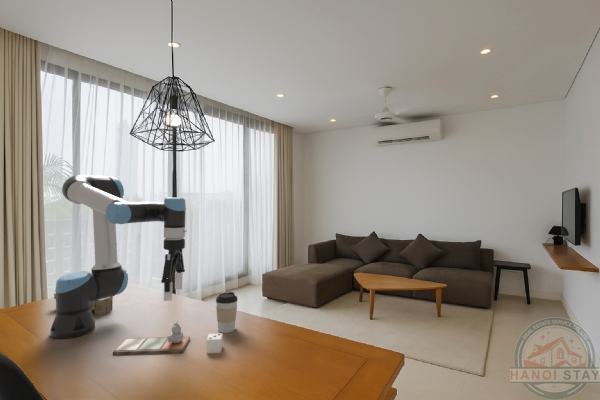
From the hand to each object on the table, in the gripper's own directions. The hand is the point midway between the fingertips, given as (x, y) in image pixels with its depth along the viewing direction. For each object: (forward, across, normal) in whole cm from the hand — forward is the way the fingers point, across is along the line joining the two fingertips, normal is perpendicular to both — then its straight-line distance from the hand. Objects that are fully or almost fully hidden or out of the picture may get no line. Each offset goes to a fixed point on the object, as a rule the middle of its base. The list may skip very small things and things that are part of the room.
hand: (173, 294), depth 124 cm
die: (+19, -6, -17) cm, 26 cm away
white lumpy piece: (+18, -2, -1) cm, 18 cm away
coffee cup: (+19, +12, -18) cm, 29 cm away
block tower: (+20, +40, +53) cm, 69 cm away
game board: (+19, -2, +6) cm, 20 cm away
